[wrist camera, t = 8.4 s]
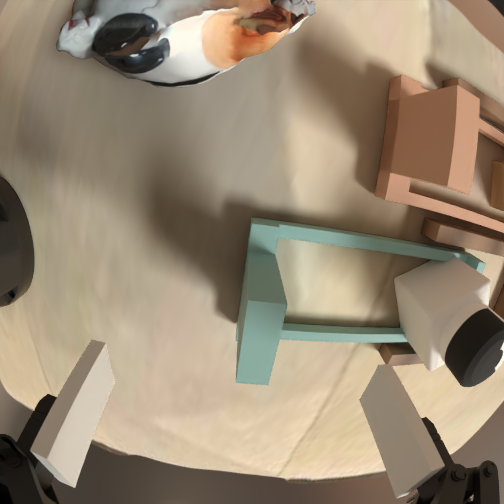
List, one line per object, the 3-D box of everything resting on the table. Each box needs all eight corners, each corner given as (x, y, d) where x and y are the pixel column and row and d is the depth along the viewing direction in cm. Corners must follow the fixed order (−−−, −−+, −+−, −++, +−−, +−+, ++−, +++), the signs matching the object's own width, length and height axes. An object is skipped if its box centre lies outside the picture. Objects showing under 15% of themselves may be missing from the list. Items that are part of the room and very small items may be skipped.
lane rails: (378, 351, 27) (386, 366, 25) (442, 81, 17) (458, 77, 15) (481, 343, 28) (490, 353, 26) (537, 147, 19) (550, 149, 16)
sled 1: (236, 327, 25) (232, 402, 17) (251, 217, 22) (253, 261, 13) (436, 334, 26) (475, 383, 18) (468, 252, 23) (524, 289, 15)
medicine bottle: (399, 331, 26) (452, 410, 15) (392, 277, 24) (463, 355, 13) (450, 304, 26) (511, 367, 14) (447, 250, 23) (528, 306, 12)
